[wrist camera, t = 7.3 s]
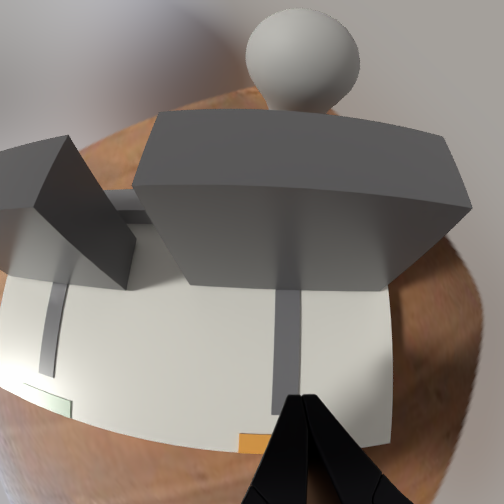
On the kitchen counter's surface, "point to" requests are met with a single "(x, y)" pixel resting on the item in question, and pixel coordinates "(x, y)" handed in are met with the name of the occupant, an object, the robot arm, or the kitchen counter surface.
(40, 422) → the kitchen counter surface
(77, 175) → the block
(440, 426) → the kitchen counter surface
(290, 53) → the lightbulb
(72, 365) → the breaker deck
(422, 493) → the kitchen counter surface
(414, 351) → the kitchen counter surface
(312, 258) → the block
